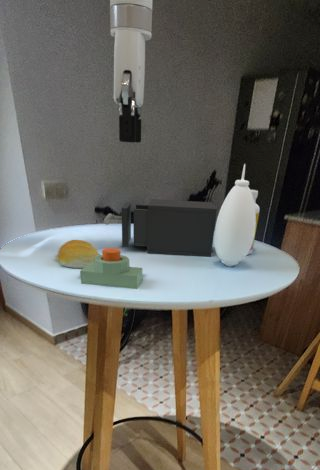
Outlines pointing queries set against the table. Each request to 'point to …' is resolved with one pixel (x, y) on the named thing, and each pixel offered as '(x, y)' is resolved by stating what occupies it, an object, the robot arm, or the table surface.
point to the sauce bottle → (235, 224)
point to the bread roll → (76, 254)
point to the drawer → (139, 224)
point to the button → (111, 254)
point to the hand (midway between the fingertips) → (130, 142)
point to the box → (111, 273)
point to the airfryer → (180, 227)
